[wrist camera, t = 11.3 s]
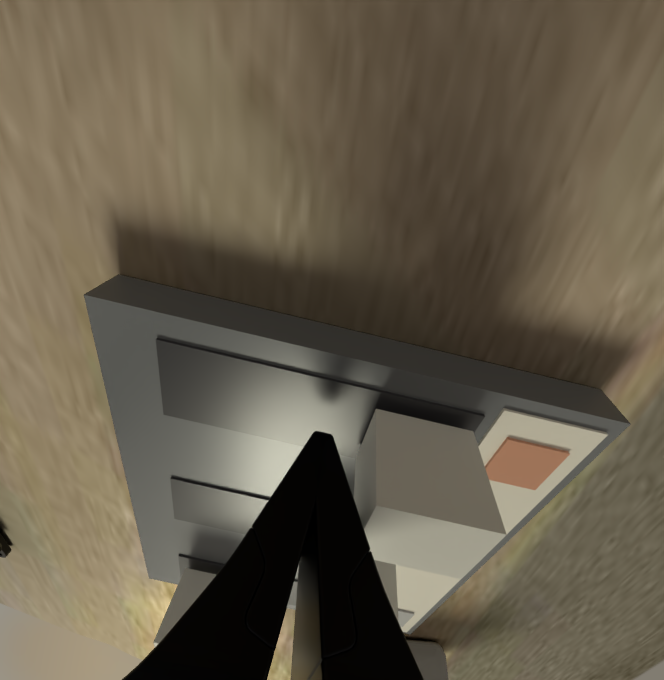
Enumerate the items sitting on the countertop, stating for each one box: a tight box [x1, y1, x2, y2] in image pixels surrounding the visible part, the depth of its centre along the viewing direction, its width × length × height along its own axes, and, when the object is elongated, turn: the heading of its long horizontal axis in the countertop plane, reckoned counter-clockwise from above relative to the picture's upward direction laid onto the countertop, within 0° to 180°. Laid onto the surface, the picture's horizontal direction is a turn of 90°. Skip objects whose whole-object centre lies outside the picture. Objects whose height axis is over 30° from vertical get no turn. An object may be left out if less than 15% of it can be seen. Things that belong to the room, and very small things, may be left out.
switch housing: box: [84, 274, 630, 634], centre depth 15 cm, size 16×19×2 cm
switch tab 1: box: [153, 568, 216, 647], centre depth 17 cm, size 3×2×3 cm
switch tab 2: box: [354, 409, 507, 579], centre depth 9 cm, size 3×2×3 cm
